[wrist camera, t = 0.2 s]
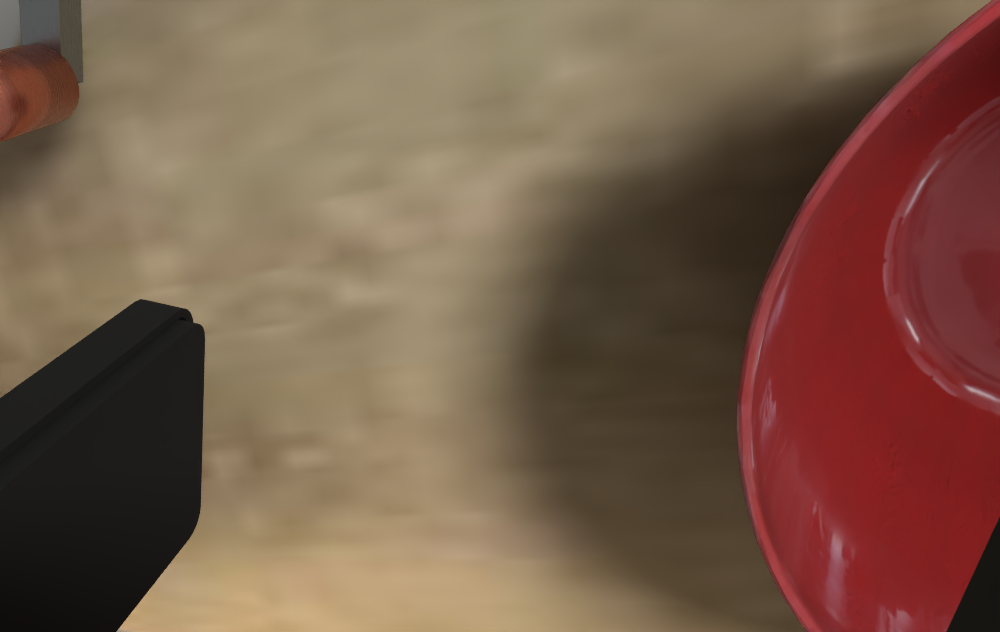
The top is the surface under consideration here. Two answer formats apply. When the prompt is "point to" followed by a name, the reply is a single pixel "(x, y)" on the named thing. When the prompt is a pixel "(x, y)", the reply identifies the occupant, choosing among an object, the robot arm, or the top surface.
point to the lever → (41, 67)
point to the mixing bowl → (885, 358)
